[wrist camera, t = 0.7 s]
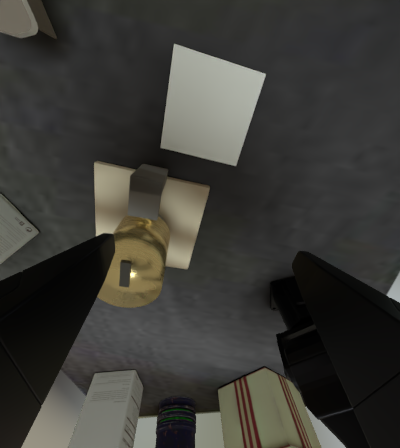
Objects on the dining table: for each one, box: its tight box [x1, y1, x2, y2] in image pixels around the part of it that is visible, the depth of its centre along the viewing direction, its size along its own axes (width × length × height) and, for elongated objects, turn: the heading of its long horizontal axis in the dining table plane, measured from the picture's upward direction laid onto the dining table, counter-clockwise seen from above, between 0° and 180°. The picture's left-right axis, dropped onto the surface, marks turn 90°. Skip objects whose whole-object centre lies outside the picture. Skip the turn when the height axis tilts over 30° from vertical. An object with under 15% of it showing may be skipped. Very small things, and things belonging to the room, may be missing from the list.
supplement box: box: [68, 370, 143, 448], centre depth 37 cm, size 9×9×15 cm
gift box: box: [218, 367, 321, 448], centre depth 40 cm, size 17×18×17 cm
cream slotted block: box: [94, 161, 210, 269], centre depth 21 cm, size 14×12×5 cm
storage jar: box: [155, 396, 196, 448], centre depth 44 cm, size 10×10×15 cm
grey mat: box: [160, 44, 266, 166], centre depth 18 cm, size 8×8×1 cm
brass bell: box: [97, 215, 170, 308], centre depth 18 cm, size 10×6×7 cm, turn 166°
